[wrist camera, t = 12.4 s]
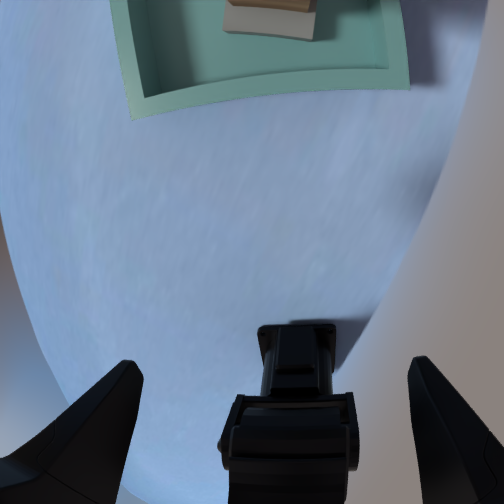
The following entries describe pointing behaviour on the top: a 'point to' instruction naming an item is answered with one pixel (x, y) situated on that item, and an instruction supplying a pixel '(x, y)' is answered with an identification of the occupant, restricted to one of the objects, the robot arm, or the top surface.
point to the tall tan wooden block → (271, 18)
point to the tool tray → (252, 53)
